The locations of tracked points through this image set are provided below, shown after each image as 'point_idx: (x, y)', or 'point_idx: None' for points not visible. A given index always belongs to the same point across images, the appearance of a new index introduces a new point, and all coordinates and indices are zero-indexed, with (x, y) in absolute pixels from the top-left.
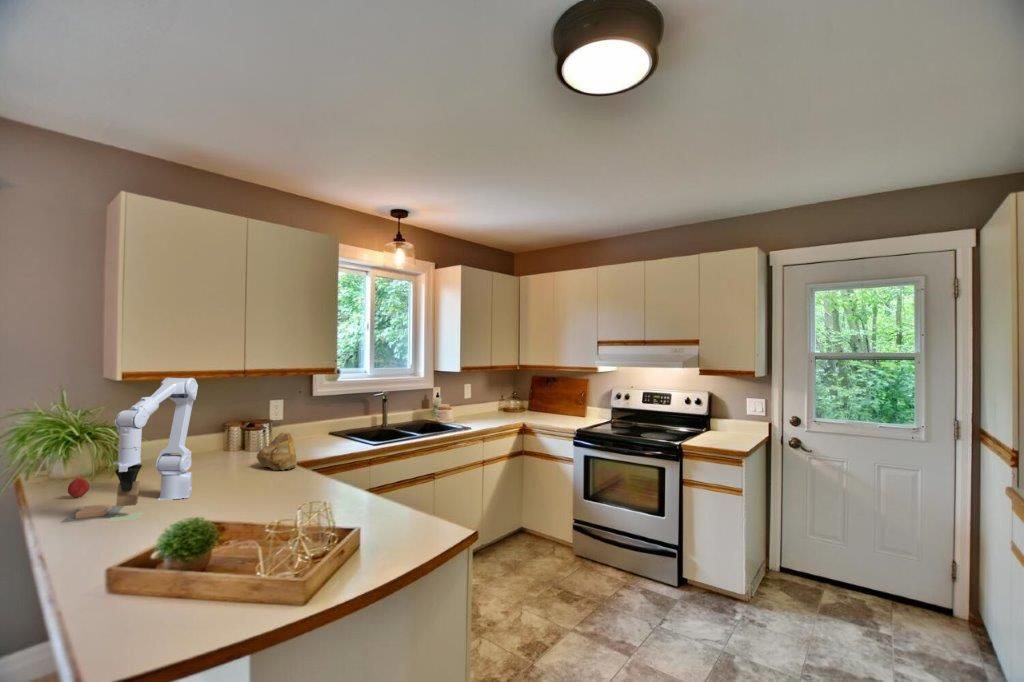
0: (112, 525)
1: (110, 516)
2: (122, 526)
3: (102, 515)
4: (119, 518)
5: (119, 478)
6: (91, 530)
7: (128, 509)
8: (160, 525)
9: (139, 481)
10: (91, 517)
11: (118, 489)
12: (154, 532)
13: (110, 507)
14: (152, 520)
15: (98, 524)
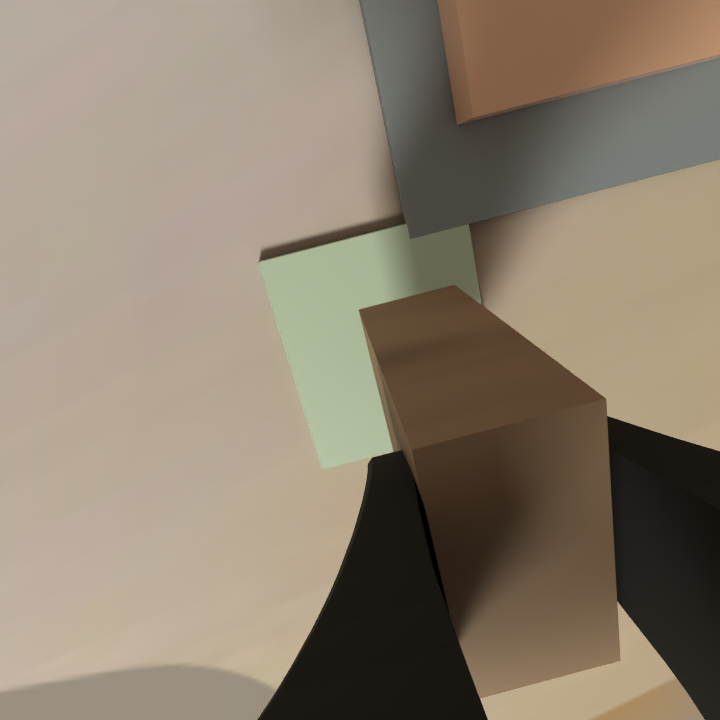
0: (195, 339)
1: (428, 199)
2: (162, 429)
3: (457, 109)
4: (347, 316)
5: (297, 669)
6: (65, 234)
7: (658, 228)
8: (167, 652)
9: (608, 661)
10: (436, 9)
11: (393, 407)
12: (23, 683)
13: (683, 65)
14: (289, 558)
15: (235, 199)
